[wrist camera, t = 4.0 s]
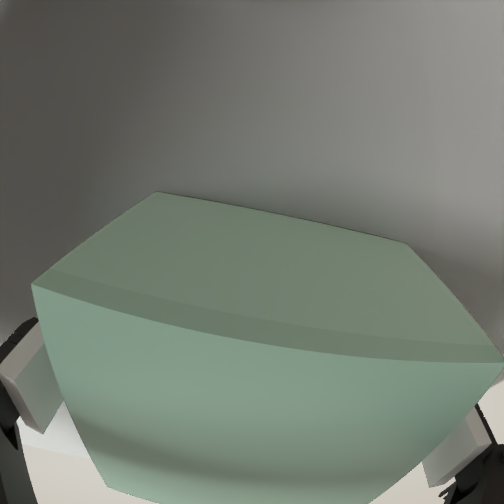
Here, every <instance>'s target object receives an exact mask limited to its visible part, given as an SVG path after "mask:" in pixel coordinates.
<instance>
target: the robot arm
mask: <svg viewBox="0 0 504 504" xmlns="http://www.w3.org/2000/svg"><path fill="white" fill-rule="evenodd" d="M63 400H64V398H63V396H62V393H61V391H60V388H59V385H58V382H57V380H56V377H55V374H54V371H53V368H52V365H51V362H50V359H49V356H48V353H47V349H46V346H45V342H44V339H43V335H42V332H41V328H40V324H39V320H38V318H35V317H33V318H31V319H29V320H28V321H26V322H24V323H22V324H21V325H20V326H19V327H18V328H17V329H16V330H15V331H14V334H12V335H11V336H10V337H9V338H8V340H7V341H5V342H4V343H3V344H2V345H1V347H0V504H38V503H37V500H36V497H35V494H34V491H33V487H32V484H31V481H30V477H29V473H28V470H27V466H26V462H25V458H24V453H23V449H22V444H21V439H20V434H19V428H18V425H17V422H16V421H17V419H18V418H19V416H21V418H22V420H23V421H24V423H25V425H27V426H28V427H30V428H32V429H34V430H36V431H37V432H39V433H41V434H44V432H45V430H46V429H47V427H48V425H49V424H50V422H51V420H52V418H53V417H54V415H55V413H56V412H57V410H58V408H59V407H60V405H61V403H62V402H63ZM483 416H484V415H483V413H482V411H481V410H480V407H479V405H478V403H477V404H476V405H475V406H474V407H473V409H472V410H471V411H470V412H469V413H468V414H467V416H466V417H465V418H464V419H463V420H462V421H461V422H460V423H459V424H458V426H457V427H456V428H455V429H454V430H453V431H452V432H451V433H450V434H449V435H448V436H447V437H446V438H445V439H444V440H443V441H442V442H441V443H440V444H439V445H438V446H437V447H436V448H435V449H434V450H433V451H432V452H431V453H430V454H429V455H428V456H427V457H426V458H425V459H423V460H422V463H423V467H424V470H425V474H426V477H427V481H428V484H429V488H430V487H435V486H439V485H443V484H445V483H446V482H448V481H449V480H450V479H451V478H453V477H454V476H455V479H456V482H454V483H453V484H452V485H450V486H449V487H448V488H446V489H445V490H444V491H442V492H441V493H440V495H439V497H441V496H443V495H444V494H446V493H447V492H448V495H447V496H445V497H444V498H443V499H445V502H444V504H504V444H499V445H498V444H497V442H496V440H495V438H494V435H493V434H492V431H491V429H490V427H489V425H488V423H487V421H486V419H485V417H483Z"/></svg>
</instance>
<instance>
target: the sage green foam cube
mask: <svg viewBox="0 0 504 504" xmlns="http://www.w3.org/2000/svg"><path fill="white" fill-rule="evenodd" d="M31 288H32V293H33V298H34V303H35V307H36V312H37V316H38V320H39V324H40V328H41V332H42V335H43V339H44V342H45V346H46V349H47V353H48V356H49V359H50V362H51V365H52V368H53V371H54V374H55V377H56V380H57V382H58V385H59V388H60V391H61V393H62V396H63V398H64V401H65V403H66V406H67V408H68V411H69V413H70V415H71V418H72V420H73V422H74V424H75V427H76V429H77V431H78V433H79V435H80V437H81V439H82V441H83V443H84V445H85V447H86V449H87V451H88V453H89V455H90V457H91V459H92V461H93V463H94V464H95V466H96V468H97V470H98V472H99V473H100V475H101V477H102V479H103V480H104V482H105V484H106V485H107V487H109V488H112V489H115V490H117V491H120V492H123V493H126V494H129V495H132V496H135V497H139V498H142V499H145V500H149V501H152V502H156V503H159V504H368V503H370V502H371V501H373V500H374V499H375V498H377V497H378V496H380V495H381V494H382V493H383V492H385V491H386V490H388V489H389V488H390V487H391V486H393V485H394V484H395V483H396V482H398V481H399V480H400V479H401V478H403V477H404V476H405V475H406V474H407V473H408V472H410V471H411V470H412V469H413V468H414V467H416V466H417V465H418V464H419V463H420V462H421V461H422V460H423V459H425V458H426V457H427V456H428V455H429V454H430V453H431V452H432V451H433V450H434V449H435V448H436V447H437V446H438V445H439V444H440V443H441V442H442V441H443V440H444V439H445V438H446V437H447V436H448V435H449V434H450V433H451V432H452V431H453V430H454V429H455V428H456V427H457V426H458V424H459V423H460V422H461V421H462V420H463V419H464V418H465V417H466V416H467V414H468V413H469V412H470V411H471V410H472V409H473V407H474V406H475V405H476V404H477V402H478V401H479V400H480V399H481V398H482V396H483V395H484V394H485V392H486V391H487V390H488V389H489V387H490V386H491V385H492V383H493V382H494V381H495V379H496V378H497V376H498V375H499V374H500V372H501V371H502V369H503V368H504V357H503V356H502V354H501V353H500V352H499V350H498V349H497V348H496V346H495V345H494V344H493V342H492V341H491V340H490V338H489V337H488V336H487V334H486V333H485V332H484V331H483V329H482V328H481V327H480V325H479V324H478V323H477V322H476V320H475V319H474V318H473V317H472V316H471V314H470V313H469V312H468V311H467V310H466V308H465V307H464V306H463V305H462V304H461V302H460V301H459V300H458V299H457V298H456V297H455V295H454V294H453V293H452V292H451V291H450V290H449V289H448V287H447V286H446V285H445V284H444V283H443V282H442V281H441V280H440V279H439V277H438V276H437V275H436V274H435V273H434V272H433V271H432V270H431V269H430V268H429V267H428V266H427V264H426V263H425V262H424V261H423V260H422V259H421V258H420V257H419V256H418V255H417V254H416V253H415V252H414V251H413V250H412V249H411V248H410V247H409V246H408V245H407V244H406V243H402V242H398V241H394V240H390V239H386V238H382V237H378V236H374V235H370V234H366V233H361V232H357V231H353V230H349V229H344V228H340V227H335V226H331V225H327V224H322V223H317V222H313V221H308V220H304V219H299V218H294V217H290V216H285V215H280V214H275V213H270V212H265V211H260V210H255V209H250V208H245V207H240V206H234V205H229V204H224V203H218V202H213V201H207V200H202V199H196V198H191V197H185V196H179V195H173V194H167V193H161V192H155V193H153V194H151V195H150V196H148V197H147V198H145V199H144V200H142V201H141V202H139V203H138V204H136V205H135V206H133V207H132V208H130V209H129V210H127V211H126V212H124V213H123V214H121V215H120V216H119V217H117V218H116V219H114V220H113V221H111V222H110V223H108V224H107V225H106V226H104V227H103V228H101V229H100V230H99V231H97V232H96V233H95V234H93V235H92V236H90V237H89V238H88V239H86V240H85V241H84V242H82V243H81V244H80V245H78V246H77V247H76V248H74V249H73V250H72V251H70V252H69V253H68V254H67V255H65V256H64V257H63V258H61V259H60V260H59V261H58V262H56V263H55V264H54V265H53V266H51V267H50V268H49V269H48V270H46V271H45V272H44V273H43V274H42V275H40V276H39V277H38V278H37V279H36V280H34V281H33V282H32V283H31Z"/></svg>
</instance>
